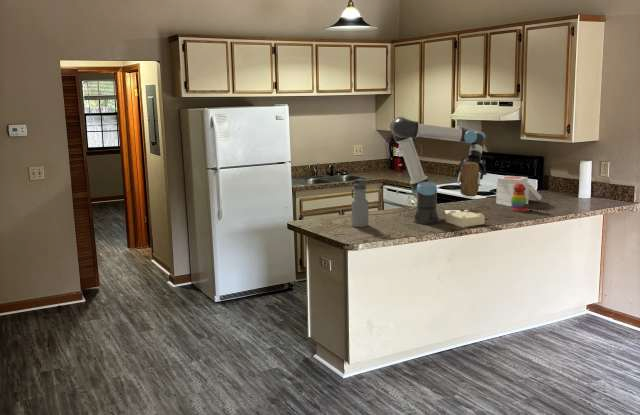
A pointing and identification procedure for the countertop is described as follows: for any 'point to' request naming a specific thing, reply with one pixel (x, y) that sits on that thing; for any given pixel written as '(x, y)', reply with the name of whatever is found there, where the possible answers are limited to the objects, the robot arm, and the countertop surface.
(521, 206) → the stacking bear
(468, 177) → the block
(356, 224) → the water bottle
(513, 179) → the white storage box
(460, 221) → the cream knobbed square piece
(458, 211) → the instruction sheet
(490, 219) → the countertop surface
